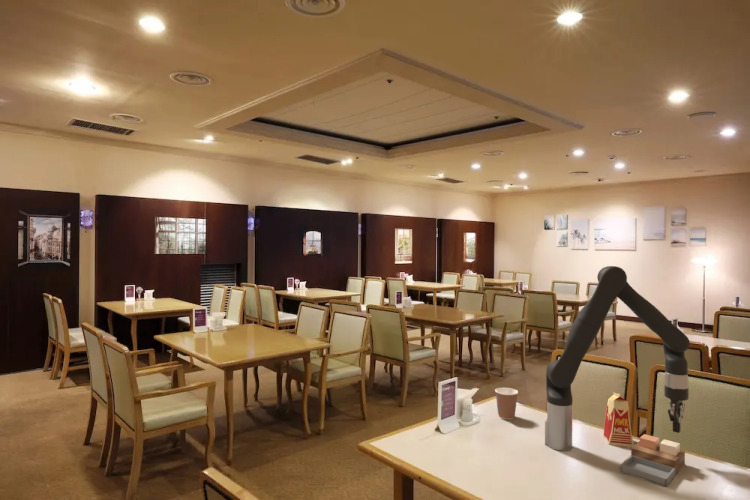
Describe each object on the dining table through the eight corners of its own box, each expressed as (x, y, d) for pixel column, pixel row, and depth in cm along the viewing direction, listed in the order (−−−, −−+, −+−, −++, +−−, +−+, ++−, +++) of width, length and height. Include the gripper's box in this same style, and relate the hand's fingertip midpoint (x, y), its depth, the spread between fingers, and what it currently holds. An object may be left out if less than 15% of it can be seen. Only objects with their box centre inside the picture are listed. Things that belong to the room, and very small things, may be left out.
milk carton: (634, 446, 183) (634, 396, 182) (608, 444, 184) (609, 394, 184) (626, 437, 192) (626, 389, 191) (602, 435, 193) (602, 387, 193)
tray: (620, 471, 162) (620, 464, 162) (631, 461, 170) (631, 455, 170) (666, 486, 152) (666, 479, 152) (675, 475, 160) (675, 468, 160)
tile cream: (659, 451, 167) (659, 443, 167) (663, 447, 170) (663, 439, 170) (675, 456, 163) (675, 447, 163) (679, 451, 167) (679, 443, 167)
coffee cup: (499, 411, 221) (499, 386, 221) (521, 415, 216) (521, 390, 215) (491, 417, 213) (491, 391, 213) (513, 422, 207) (513, 395, 207)
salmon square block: (639, 445, 172) (639, 437, 172) (644, 441, 175) (644, 434, 175) (655, 450, 168) (655, 441, 168) (659, 446, 172) (659, 438, 171)
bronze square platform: (631, 461, 170) (631, 448, 170) (641, 451, 178) (642, 438, 178) (675, 475, 160) (675, 461, 160) (684, 464, 168) (684, 450, 168)
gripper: (669, 379, 180) (670, 424, 180) (659, 386, 170) (659, 433, 171) (692, 383, 174) (693, 429, 174) (683, 391, 165) (683, 439, 165)
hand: (676, 431), depth 172 cm, fingers closed
